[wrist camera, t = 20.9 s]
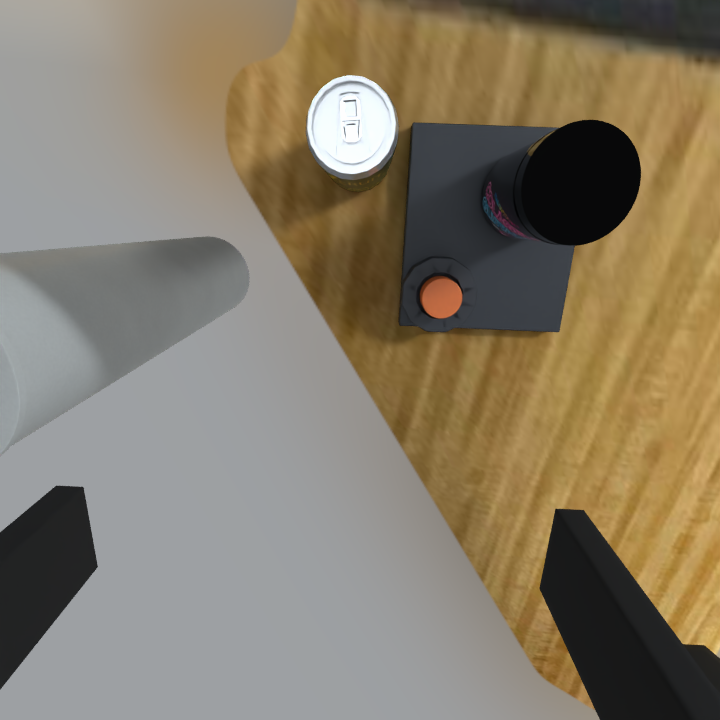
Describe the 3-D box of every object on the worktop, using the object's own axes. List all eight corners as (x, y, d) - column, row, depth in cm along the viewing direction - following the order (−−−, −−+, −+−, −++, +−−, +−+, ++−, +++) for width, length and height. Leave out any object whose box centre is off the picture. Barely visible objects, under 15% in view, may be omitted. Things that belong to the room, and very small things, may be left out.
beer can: (322, 123, 35) (298, 74, 23) (389, 118, 35) (398, 66, 23) (327, 194, 36) (307, 181, 25) (392, 190, 36) (401, 175, 25)
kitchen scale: (397, 322, 40) (400, 330, 37) (410, 126, 35) (414, 117, 32) (553, 329, 39) (567, 337, 37) (587, 132, 35) (606, 124, 32)
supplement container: (469, 167, 34) (509, 144, 24) (554, 136, 34) (632, 100, 24) (489, 250, 36) (534, 261, 26) (571, 223, 35) (649, 224, 25)
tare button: (418, 313, 37) (420, 317, 35) (421, 275, 36) (423, 277, 34) (456, 315, 37) (460, 319, 35) (460, 276, 36) (464, 279, 34)
